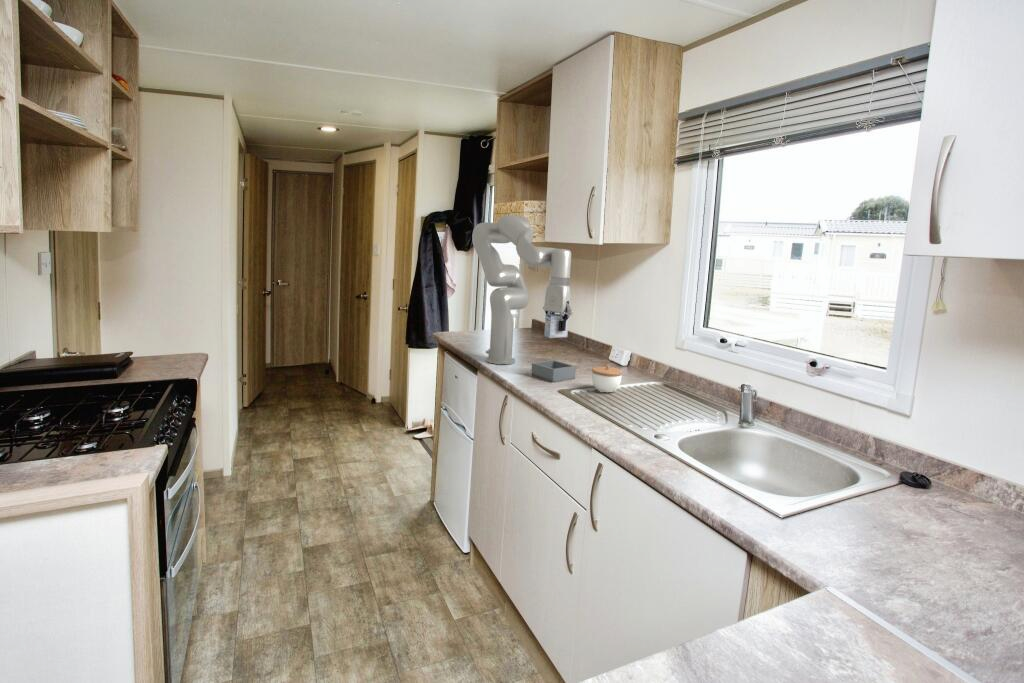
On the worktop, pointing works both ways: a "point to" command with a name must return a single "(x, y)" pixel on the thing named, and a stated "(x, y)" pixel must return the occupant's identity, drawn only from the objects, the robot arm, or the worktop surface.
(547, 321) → the medicine box
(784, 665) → the worktop surface
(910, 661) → the worktop surface
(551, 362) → the bin
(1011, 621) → the worktop surface
